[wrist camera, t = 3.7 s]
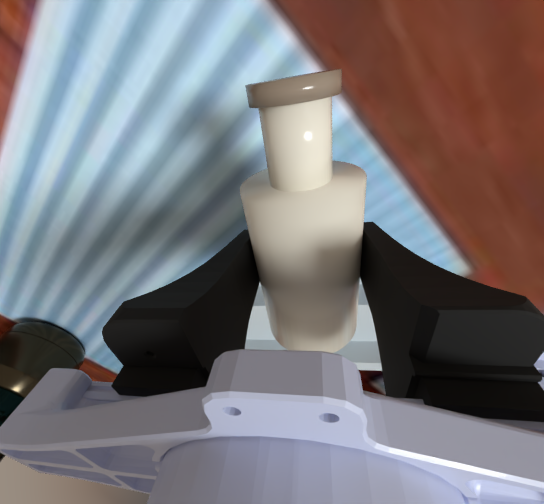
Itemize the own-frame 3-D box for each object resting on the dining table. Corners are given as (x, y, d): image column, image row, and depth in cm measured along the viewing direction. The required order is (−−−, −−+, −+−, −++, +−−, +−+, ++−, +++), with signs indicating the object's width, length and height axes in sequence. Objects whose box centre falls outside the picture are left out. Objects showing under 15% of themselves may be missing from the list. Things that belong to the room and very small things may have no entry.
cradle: (386, 263, 21) (398, 293, 18) (375, 345, 27) (382, 377, 24) (204, 270, 24) (190, 297, 21) (231, 342, 30) (223, 370, 27)
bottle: (349, 286, 16) (365, 356, 12) (273, 290, 17) (265, 356, 13) (357, 65, 10) (396, 61, 6) (234, 86, 10) (195, 95, 6)
